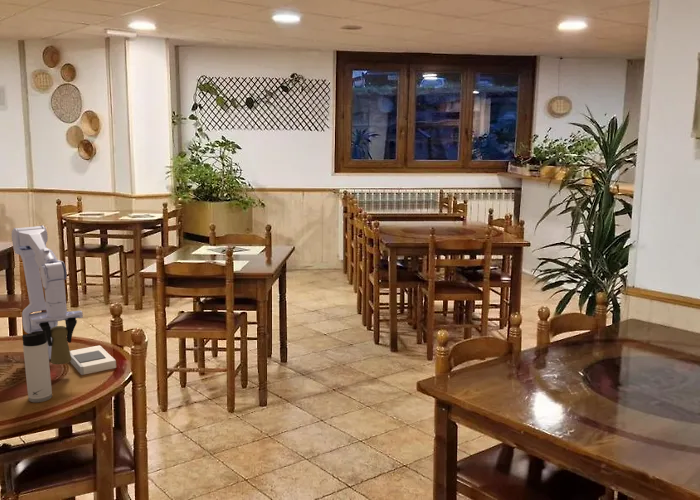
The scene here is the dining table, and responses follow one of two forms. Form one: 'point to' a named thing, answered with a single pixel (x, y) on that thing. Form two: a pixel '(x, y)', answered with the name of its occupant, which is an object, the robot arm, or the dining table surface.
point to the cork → (60, 345)
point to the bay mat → (89, 356)
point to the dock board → (92, 365)
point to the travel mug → (37, 366)
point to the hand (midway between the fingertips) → (59, 343)
